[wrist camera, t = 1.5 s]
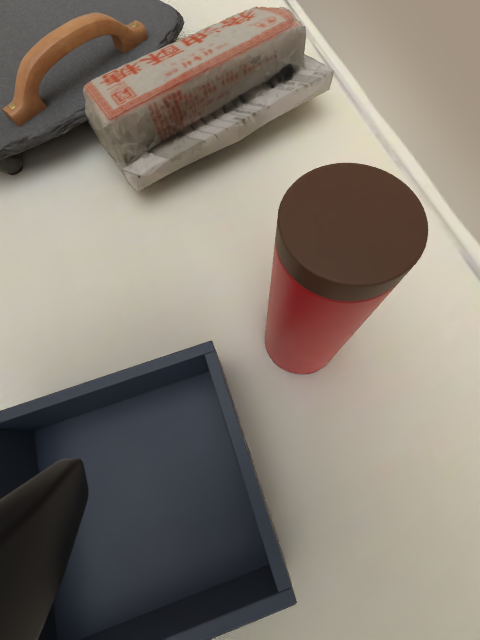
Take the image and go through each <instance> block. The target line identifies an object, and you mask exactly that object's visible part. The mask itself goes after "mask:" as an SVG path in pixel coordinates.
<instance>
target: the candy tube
mask: <svg viewBox="0 0 480 640" xmlns="http://www.w3.org/2000/svg"><path fill="white" fill-rule="evenodd" d="M427 237H428V222H427V217H426V213H425V211H424V208H423V206H422V204H421V202H420V201H419V199H418V198H417V196H416V195H415V194H414V192H413V191H412V190H411V189H410V188H409V187H408V186H407V185H406V184H404V183H403V182H402V181H401V180H399V179H398V178H396V177H395V176H393V175H392V174H390V173H388V172H386V171H383V170H381V169H378V168H376V167H372V166H368V165H363V164H357V163H337V164H330V165H326V166H322V167H319V168H316V169H314V170H312V171H310V172H308V173H306V174H304V175H303V176H301V177H300V178H299V179H298V180H296V181H295V182H294V183H293V184H292V185H291V187H290V188H289V189H288V190H287V192H286V193H285V195H284V197H283V199H282V201H281V203H280V207H279V210H278V219H277V229H276V238H275V247H274V256H273V266H272V275H271V284H270V294H269V303H268V312H267V321H266V331H265V345H266V349H267V352H268V354H269V356H270V357H271V359H272V360H273V361H274V362H275V363H276V364H277V365H278V366H279V367H281V368H282V369H284V370H286V371H288V372H291V373H295V374H308V373H313V372H315V371H318V370H320V369H321V368H323V367H324V366H325V365H326V364H327V363H328V362H329V361H330V360H331V359H332V358H333V356H334V355H335V354H336V353H337V352H338V351H339V350H340V349H341V347H342V346H343V345H344V344H345V343H346V342H347V341H348V340H349V338H350V337H351V336H352V335H353V334H354V333H355V332H356V331H357V329H358V328H359V327H360V326H361V325H362V324H363V323H364V321H365V320H366V319H367V318H368V317H369V316H370V315H371V314H372V312H373V311H374V310H375V309H376V308H377V307H378V306H379V305H380V303H381V302H382V301H383V300H384V299H385V298H386V297H387V296H388V294H389V293H390V292H391V291H392V290H393V289H394V288H395V286H396V285H397V284H398V283H399V282H400V281H401V280H402V279H403V277H404V276H405V275H406V274H407V273H408V272H409V271H410V270H411V268H412V267H413V266H414V265H415V264H416V263H417V261H418V260H419V258H420V257H421V255H422V253H423V251H424V249H425V246H426V242H427Z"/></svg>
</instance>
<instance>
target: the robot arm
mask: <svg viewBox="0 0 480 640" xmlns="http://www.w3.org/2000/svg"><path fill="white" fill-rule="evenodd" d="M88 496H89V489H88V483H87V478H86V473H85V468H84V464H83V461H82V460H81V459H79V458H70V459H61V460H58V461H57V462H55V463H54V464H52V465H51V466H49V467H48V468H46V469H45V470H43V471H42V472H40V473H39V474H37V475H36V476H34V477H33V478H31V479H30V480H29V481H27V482H26V483H24V484H23V485H21V486H20V487H18V488H17V489H15V490H14V491H12V492H11V493H9V494H8V495H6V496H5V497H3V498H2V499H0V640H38V638H39V635H40V633H41V631H42V628H43V626H44V623H45V621H46V619H47V616H48V614H49V612H50V609H51V607H52V604H53V602H54V600H55V597H56V595H57V592H58V590H59V587H60V585H61V582H62V579H63V577H64V574H65V571H66V568H67V565H68V561H69V558H70V555H71V552H72V549H73V546H74V543H75V539H76V536H77V533H78V530H79V527H80V524H81V520H82V517H83V514H84V511H85V508H86V505H87V501H88Z"/></svg>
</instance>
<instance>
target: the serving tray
mask: <svg viewBox="0 0 480 640" xmlns="http://www.w3.org/2000/svg"><path fill="white" fill-rule="evenodd" d="M183 25H184V20H183V17H182V16H181V14H180V13H179V12H178V11H177V10H175V9H174V8H173V7H171V6H170V5H168V4H165V3H163V2H162V1H160V0H0V170H1V171H3V172H6V173H8V174H11V175H14V174H17V173H19V172H20V171H21V170H22V168H23V165H22V158H21V155H20V154H19V153H22V152H24V151H26V150H28V149H31V148H33V147H36V146H39V145H41V144H43V143H45V142H47V141H49V140H52V139H54V138H57V137H59V136H61V135H63V134H65V133H66V132H68V131H70V130H71V129H73V128H75V127H77V126H79V125H81V124H83V123H85V122H87V121H89V119H88V117H87V116H86V114H85V108H86V106H85V103H86V101H85V97H84V94H83V88H84V85H85V84H87V83H89V82H90V81H91V80H93V79H96V77H100V76H101V75H103V74H105V73H107V72H109V71H112V70H114V69H117V68H119V67H121V66H123V65H125V64H127V63H130V62H132V61H135V60H137V59H139V58H140V57H142V56H145V55H147V54H149V53H152V52H154V51H157V50H159V49H161V48H163V47H165V46H167V45H170V44H172V43H174V42H176V38H177V36H178V35H179V33H180V32H181V30H182V28H183Z"/></svg>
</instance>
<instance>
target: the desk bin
mask: <svg viewBox="0 0 480 640" xmlns="http://www.w3.org/2000/svg"><path fill="white" fill-rule="evenodd" d="M70 458H79V459H81V460H82V461H83V464H84V468H85V473H86V478H87V483H88V489H89V496H88V501H87V505H86V508H85V511H84V514H83V517H82V520H81V524H80V527H79V530H78V533H77V536H76V539H75V543H74V546H73V549H72V552H71V555H70V558H69V561H68V565H67V568H66V571H65V574H64V577H63V579H62V582H61V585H60V587H59V590H58V592H57V595H56V597H55V600H54V602H53V604H52V607H51V609H50V612H49V614H48V616H47V619H46V621H45V623H44V626H43V628H42V631H41V633H40V635H39V638H38V640H210V639H212V638H215V637H217V636H220V635H222V634H225V633H227V632H229V631H232V630H234V629H237V628H239V627H242V626H244V625H247V624H249V623H251V622H254V621H256V620H259V619H261V618H264V617H266V616H269V615H271V614H273V613H276V612H278V611H281V610H283V609H286V608H288V607H291V606H293V605H295V604H296V603H297V601H296V598H295V594H294V591H293V587H292V583H291V580H290V576H289V573H288V570H287V566H286V563H285V560H284V557H283V554H282V550H281V547H280V544H279V541H278V538H277V535H276V532H275V529H274V526H273V523H272V520H271V517H270V514H269V511H268V507H267V504H266V501H265V498H264V495H263V492H262V489H261V486H260V483H259V480H258V477H257V474H256V471H255V468H254V464H253V461H252V458H251V455H250V452H249V449H248V446H247V443H246V440H245V437H244V434H243V431H242V428H241V425H240V421H239V418H238V415H237V412H236V409H235V406H234V403H233V400H232V397H231V394H230V391H229V388H228V385H227V382H226V378H225V375H224V372H223V369H222V366H221V363H220V360H219V358H218V355H217V352H216V350H215V347H214V345H213V342H212V341H208V342H205V343H202V344H199V345H196V346H193V347H190V348H187V349H184V350H181V351H178V352H175V353H172V354H169V355H166V356H163V357H160V358H157V359H154V360H151V361H148V362H145V363H142V364H139V365H136V366H133V367H130V368H127V369H124V370H121V371H118V372H115V373H112V374H109V375H106V376H103V377H100V378H97V379H94V380H91V381H88V382H85V383H82V384H79V385H76V386H73V387H70V388H67V389H64V390H61V391H58V392H55V393H52V394H49V395H46V396H43V397H40V398H37V399H34V400H31V401H28V402H25V403H22V404H19V405H16V406H14V407H11V408H8V409H5V410H2V411H0V499H2V498H3V497H5V496H6V495H8V494H9V493H11V492H12V491H14V490H15V489H17V488H18V487H20V486H21V485H23V484H24V483H26V482H27V481H29V480H30V479H31V478H33V477H34V476H36V475H37V474H39V473H40V472H42V471H43V470H45V469H46V468H48V467H49V466H51V465H52V464H54V463H55V462H57V461H58V460H61V459H70Z"/></svg>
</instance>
